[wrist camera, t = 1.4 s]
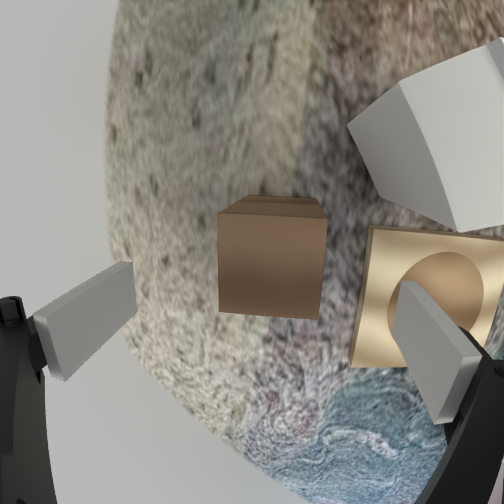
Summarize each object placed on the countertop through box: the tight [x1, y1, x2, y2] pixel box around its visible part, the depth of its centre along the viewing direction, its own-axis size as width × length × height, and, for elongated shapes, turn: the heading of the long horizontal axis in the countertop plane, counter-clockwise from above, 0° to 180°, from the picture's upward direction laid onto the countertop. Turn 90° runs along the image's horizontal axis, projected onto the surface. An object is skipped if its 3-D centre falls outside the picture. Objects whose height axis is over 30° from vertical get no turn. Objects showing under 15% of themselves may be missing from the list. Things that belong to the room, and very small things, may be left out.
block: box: [218, 195, 328, 319], centre depth 23 cm, size 6×6×11 cm
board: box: [349, 225, 504, 367], centre depth 27 cm, size 14×16×2 cm
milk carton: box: [347, 37, 504, 233], centre depth 15 cm, size 7×7×19 cm
